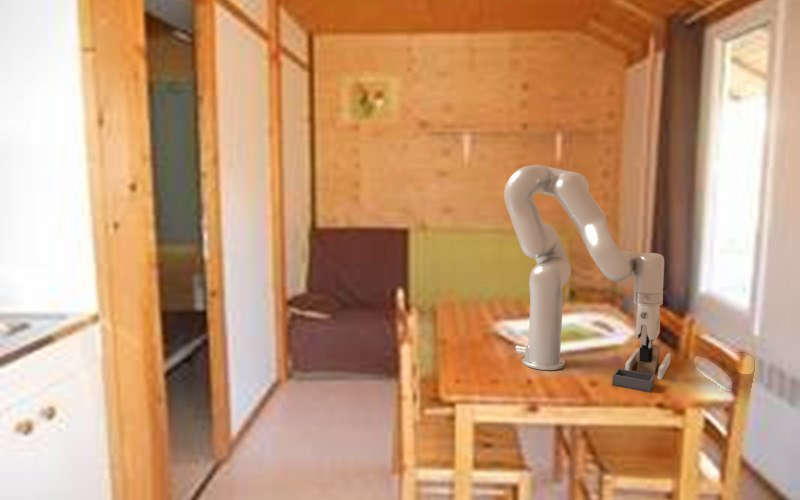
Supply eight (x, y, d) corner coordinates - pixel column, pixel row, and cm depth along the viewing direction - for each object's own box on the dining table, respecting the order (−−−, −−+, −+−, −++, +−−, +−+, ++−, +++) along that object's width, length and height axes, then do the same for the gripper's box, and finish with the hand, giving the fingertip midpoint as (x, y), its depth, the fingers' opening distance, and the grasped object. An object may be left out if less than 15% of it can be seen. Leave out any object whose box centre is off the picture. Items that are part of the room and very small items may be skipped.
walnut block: (636, 372, 192) (638, 352, 191) (641, 362, 201) (642, 343, 200) (654, 375, 190) (656, 355, 189) (658, 364, 199) (660, 345, 198)
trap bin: (612, 385, 182) (612, 374, 181) (616, 378, 187) (617, 368, 186) (650, 392, 177) (650, 381, 176) (654, 385, 182) (654, 374, 182)
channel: (624, 373, 191) (625, 363, 191) (635, 357, 205) (636, 348, 204) (661, 379, 186) (661, 369, 186) (669, 363, 200) (670, 353, 199)
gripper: (657, 304, 174) (655, 371, 177) (666, 293, 187) (664, 355, 190) (628, 302, 178) (626, 367, 181) (639, 291, 191) (637, 352, 193)
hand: (645, 361), depth 185 cm, fingers closed
